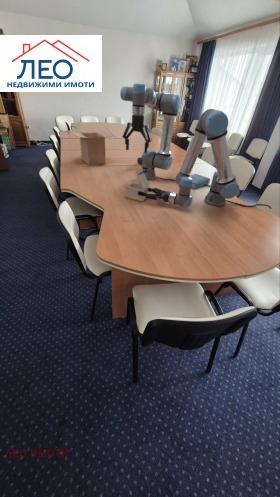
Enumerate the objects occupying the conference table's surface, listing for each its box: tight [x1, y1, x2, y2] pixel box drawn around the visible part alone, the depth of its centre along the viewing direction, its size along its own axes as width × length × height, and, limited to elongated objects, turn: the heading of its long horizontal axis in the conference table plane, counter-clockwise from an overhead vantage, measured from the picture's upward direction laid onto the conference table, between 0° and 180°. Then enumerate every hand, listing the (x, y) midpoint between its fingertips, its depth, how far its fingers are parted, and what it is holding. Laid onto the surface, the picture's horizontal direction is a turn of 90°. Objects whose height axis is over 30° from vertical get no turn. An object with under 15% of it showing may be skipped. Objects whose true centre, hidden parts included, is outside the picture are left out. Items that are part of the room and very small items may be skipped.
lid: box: [135, 166, 152, 190], centre depth 155 cm, size 14×10×8 cm
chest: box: [125, 181, 149, 203], centre depth 165 cm, size 14×10×9 cm
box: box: [70, 129, 114, 166], centre depth 229 cm, size 44×36×27 cm
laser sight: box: [136, 154, 143, 165], centre depth 236 cm, size 10×22×10 cm, turn 78°
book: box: [189, 173, 211, 190], centre depth 197 cm, size 23×16×5 cm
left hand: (136, 151), depth 148 cm, fingers open, 13 cm apart
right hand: (141, 190), depth 163 cm, fingers closed on chest, 9 cm apart
